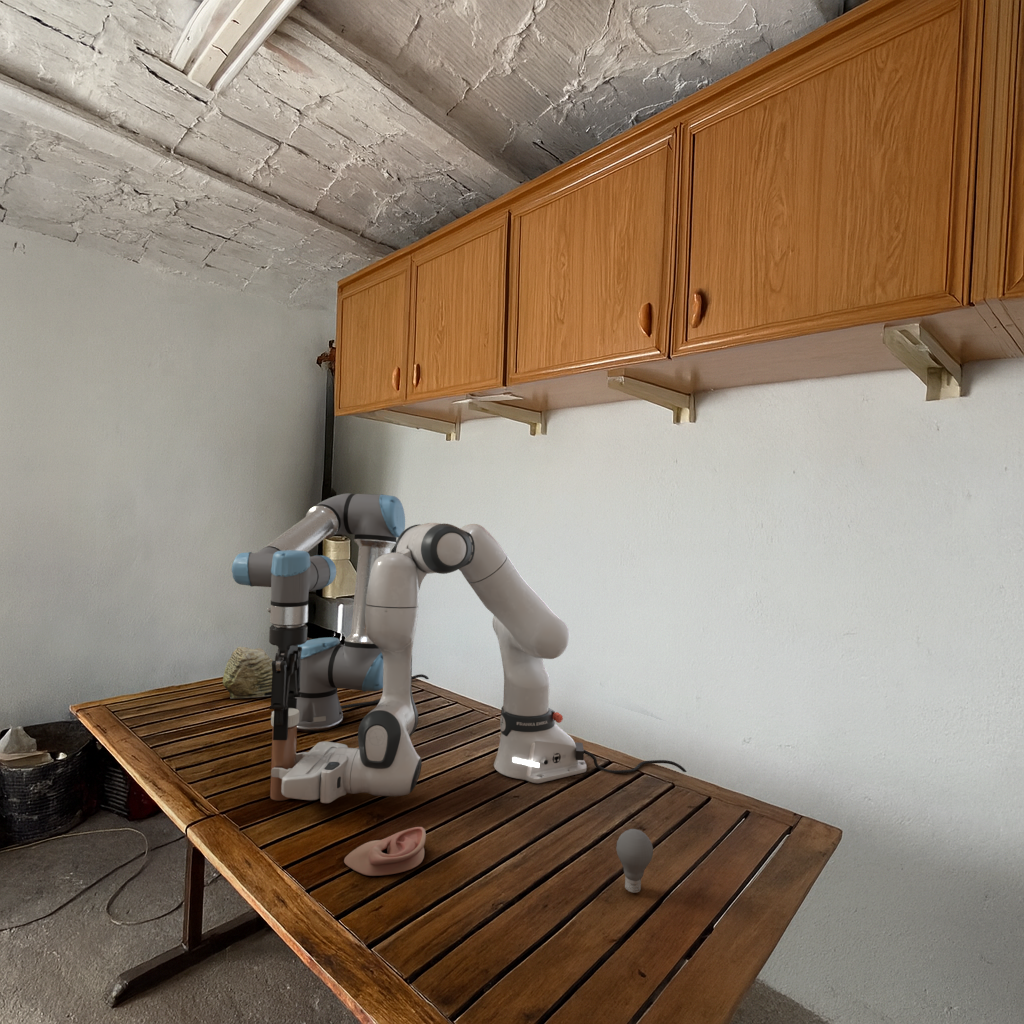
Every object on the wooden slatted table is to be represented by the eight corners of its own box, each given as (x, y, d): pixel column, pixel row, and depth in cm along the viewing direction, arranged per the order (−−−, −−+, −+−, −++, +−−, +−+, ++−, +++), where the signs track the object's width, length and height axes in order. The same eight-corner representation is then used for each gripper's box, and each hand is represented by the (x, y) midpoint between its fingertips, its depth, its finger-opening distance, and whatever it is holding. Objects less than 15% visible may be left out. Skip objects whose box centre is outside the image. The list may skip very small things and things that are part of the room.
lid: (278, 717, 136) (278, 706, 136) (303, 719, 136) (303, 708, 136) (265, 727, 131) (266, 715, 131) (292, 729, 130) (292, 717, 130)
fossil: (218, 695, 195) (220, 647, 195) (278, 685, 208) (279, 640, 207) (228, 703, 189) (230, 653, 188) (289, 692, 201) (290, 645, 201)
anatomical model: (336, 847, 108) (365, 815, 119) (335, 870, 108) (364, 836, 119) (410, 859, 105) (432, 825, 116) (409, 883, 105) (431, 846, 116)
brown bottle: (287, 801, 131) (290, 720, 131) (265, 799, 132) (268, 718, 131) (298, 791, 136) (301, 712, 136) (277, 788, 136) (280, 710, 136)
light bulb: (610, 879, 108) (613, 822, 108) (644, 879, 109) (647, 822, 109) (619, 902, 102) (622, 840, 102) (655, 901, 103) (658, 840, 103)
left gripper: (283, 615, 142) (279, 718, 142) (255, 633, 124) (251, 751, 124) (317, 616, 142) (313, 719, 143) (294, 634, 124) (290, 751, 125)
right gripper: (359, 736, 143) (300, 732, 144) (326, 775, 123) (257, 770, 124) (358, 764, 143) (298, 759, 144) (325, 807, 123) (256, 802, 124)
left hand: (284, 733), depth 133 cm, fingers closed on lid, 5 cm apart
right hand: (279, 764), depth 134 cm, fingers closed on brown bottle, 5 cm apart
